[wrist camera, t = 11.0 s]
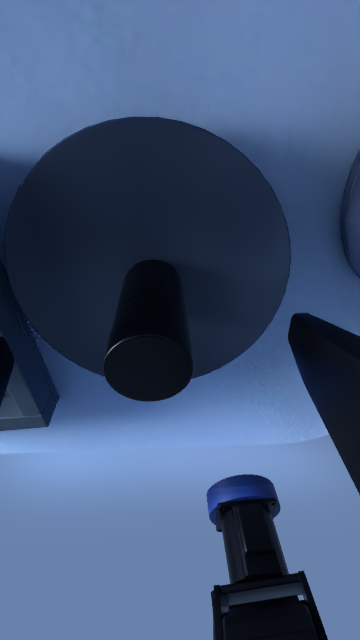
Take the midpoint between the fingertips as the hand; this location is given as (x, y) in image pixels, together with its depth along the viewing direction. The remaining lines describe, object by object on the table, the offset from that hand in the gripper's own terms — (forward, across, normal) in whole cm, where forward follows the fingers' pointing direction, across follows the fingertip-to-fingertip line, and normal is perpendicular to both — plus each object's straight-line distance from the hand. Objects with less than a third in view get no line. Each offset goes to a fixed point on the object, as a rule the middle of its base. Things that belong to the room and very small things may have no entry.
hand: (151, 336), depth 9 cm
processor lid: (+4, 0, 0) cm, 4 cm away
